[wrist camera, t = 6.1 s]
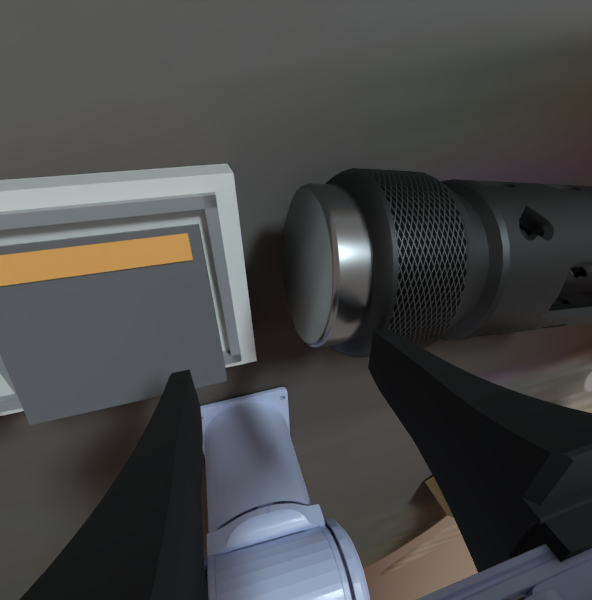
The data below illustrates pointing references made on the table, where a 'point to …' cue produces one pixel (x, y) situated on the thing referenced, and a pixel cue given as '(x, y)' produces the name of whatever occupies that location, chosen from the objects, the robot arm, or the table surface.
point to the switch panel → (140, 216)
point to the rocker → (106, 319)
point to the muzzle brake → (434, 258)
